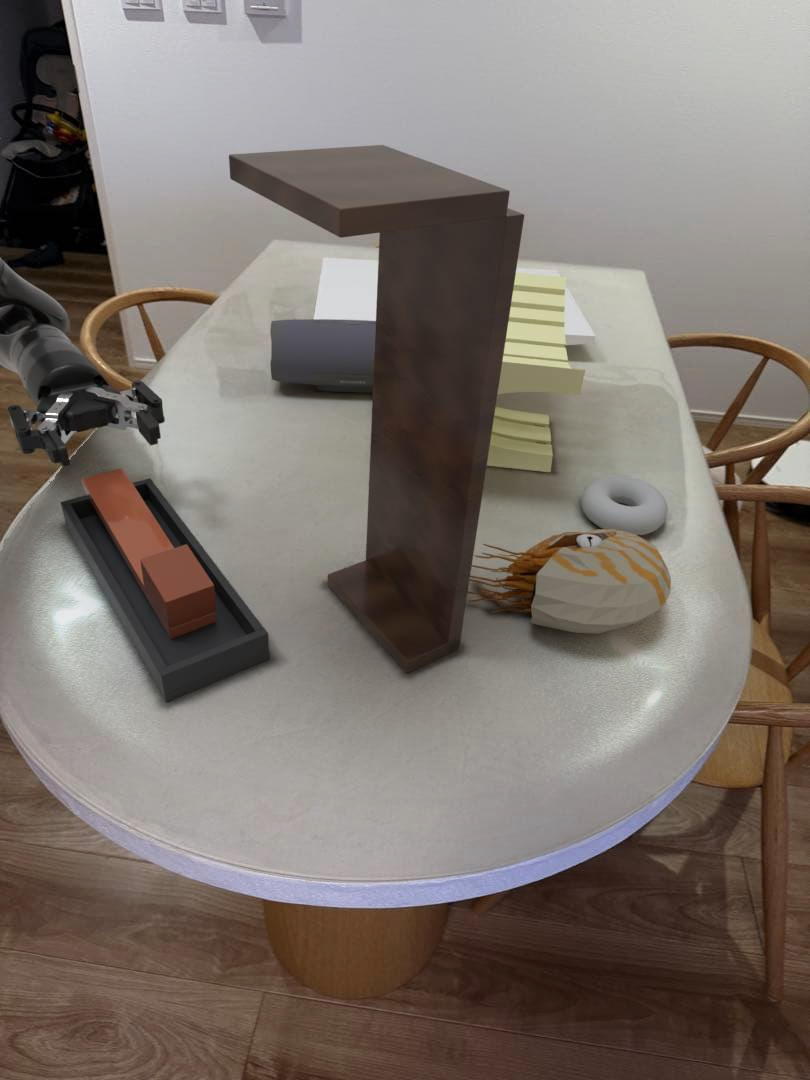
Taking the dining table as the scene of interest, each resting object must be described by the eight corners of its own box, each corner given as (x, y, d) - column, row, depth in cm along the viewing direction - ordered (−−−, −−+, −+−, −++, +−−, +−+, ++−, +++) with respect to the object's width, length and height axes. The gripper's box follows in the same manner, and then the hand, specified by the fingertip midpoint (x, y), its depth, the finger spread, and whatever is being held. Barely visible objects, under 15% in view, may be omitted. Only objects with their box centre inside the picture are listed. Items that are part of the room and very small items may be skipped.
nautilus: (439, 640, 73) (457, 552, 85) (673, 668, 70) (656, 572, 82) (443, 572, 68) (461, 490, 81) (692, 600, 65) (671, 509, 78)
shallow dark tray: (66, 526, 82) (60, 502, 80) (154, 501, 87) (150, 477, 85) (166, 702, 64) (161, 676, 62) (269, 658, 69) (268, 633, 67)
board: (313, 350, 122) (312, 322, 119) (323, 282, 148) (323, 257, 145) (589, 363, 125) (595, 336, 122) (552, 294, 151) (557, 270, 148)
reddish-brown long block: (83, 488, 82) (75, 451, 79) (124, 477, 84) (118, 441, 81) (170, 639, 68) (165, 602, 65) (216, 622, 71) (214, 585, 67)
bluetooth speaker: (425, 375, 118) (430, 312, 112) (431, 403, 110) (437, 337, 104) (275, 371, 115) (273, 306, 109) (271, 399, 108) (268, 332, 102)
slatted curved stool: (437, 385, 115) (449, 266, 104) (543, 396, 114) (565, 277, 104) (420, 495, 91) (433, 354, 80) (554, 509, 91) (585, 370, 80)
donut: (580, 487, 95) (575, 531, 87) (585, 463, 93) (581, 506, 85) (662, 502, 94) (665, 548, 86) (669, 478, 92) (673, 523, 84)
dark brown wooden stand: (259, 611, 74) (228, 154, 49) (377, 566, 80) (400, 143, 56) (334, 708, 65) (340, 209, 40) (459, 648, 71) (528, 188, 47)
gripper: (-17, 361, 79) (23, 429, 68) (122, 338, 86) (177, 396, 75) (1, 426, 83) (42, 499, 73) (132, 399, 90) (185, 461, 80)
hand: (110, 447), depth 74 cm, fingers open, 8 cm apart
